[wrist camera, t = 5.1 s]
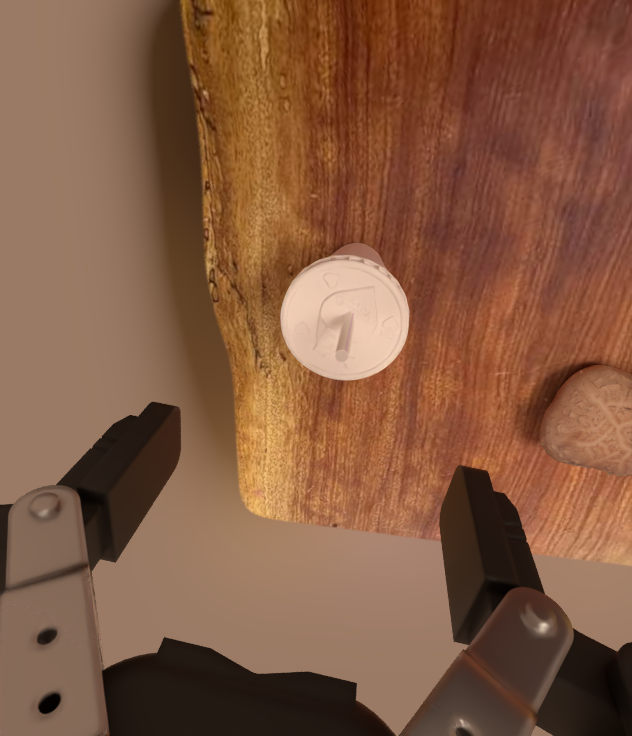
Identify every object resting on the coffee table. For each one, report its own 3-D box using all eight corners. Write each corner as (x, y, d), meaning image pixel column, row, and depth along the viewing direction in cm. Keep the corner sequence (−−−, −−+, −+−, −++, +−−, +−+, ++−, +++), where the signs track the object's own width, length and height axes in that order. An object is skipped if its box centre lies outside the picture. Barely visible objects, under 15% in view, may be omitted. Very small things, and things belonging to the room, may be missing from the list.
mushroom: (623, 469, 34) (708, 403, 29) (605, 523, 31) (699, 458, 25) (533, 410, 37) (595, 339, 31) (506, 452, 33) (572, 380, 28)
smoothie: (424, 261, 29) (450, 355, 17) (364, 332, 32) (348, 455, 20) (346, 200, 28) (314, 253, 16) (291, 278, 31) (227, 375, 19)
